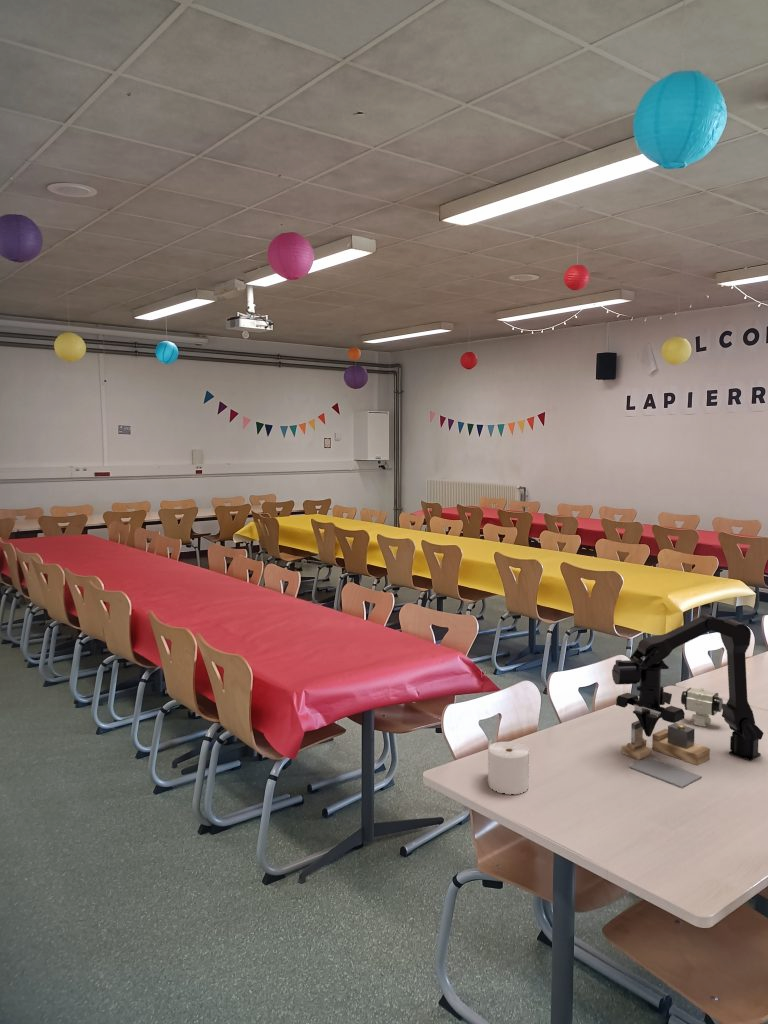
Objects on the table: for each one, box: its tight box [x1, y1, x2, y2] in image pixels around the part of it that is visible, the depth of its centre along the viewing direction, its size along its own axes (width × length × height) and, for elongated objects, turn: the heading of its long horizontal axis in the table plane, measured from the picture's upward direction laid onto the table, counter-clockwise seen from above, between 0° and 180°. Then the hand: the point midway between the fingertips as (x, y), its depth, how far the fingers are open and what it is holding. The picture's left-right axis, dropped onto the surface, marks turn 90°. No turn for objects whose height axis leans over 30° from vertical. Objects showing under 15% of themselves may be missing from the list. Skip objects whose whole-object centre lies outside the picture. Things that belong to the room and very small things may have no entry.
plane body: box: [651, 728, 711, 766], centre depth 211 cm, size 14×7×5 cm, turn 38°
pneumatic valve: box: [680, 687, 724, 728], centre depth 233 cm, size 6×12×12 cm, turn 51°
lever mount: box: [621, 738, 653, 761], centre depth 211 cm, size 6×7×4 cm
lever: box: [630, 720, 644, 748], centre depth 211 cm, size 1×4×8 cm, turn 128°
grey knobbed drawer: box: [667, 722, 695, 749], centre depth 211 cm, size 6×4×6 cm, turn 38°
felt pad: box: [628, 756, 703, 789], centre depth 199 cm, size 16×10×1 cm, turn 38°
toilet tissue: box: [487, 738, 530, 795], centre depth 192 cm, size 11×12×10 cm
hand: (648, 736), depth 208 cm, fingers closed
